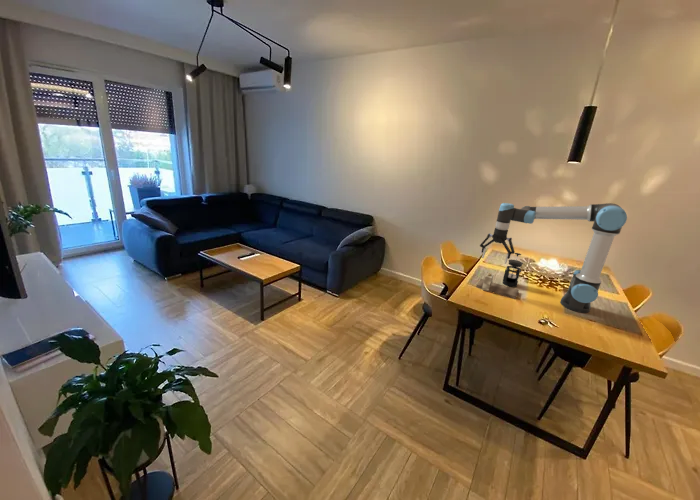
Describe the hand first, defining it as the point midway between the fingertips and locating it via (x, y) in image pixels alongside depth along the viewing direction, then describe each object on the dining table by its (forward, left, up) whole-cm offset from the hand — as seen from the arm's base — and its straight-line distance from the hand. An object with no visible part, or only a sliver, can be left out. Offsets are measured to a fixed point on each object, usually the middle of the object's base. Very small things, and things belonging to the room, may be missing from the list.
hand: (494, 260), depth 195 cm
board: (-5, -4, -21) cm, 22 cm away
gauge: (0, 0, -21) cm, 21 cm away
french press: (-10, -20, -21) cm, 31 cm away
